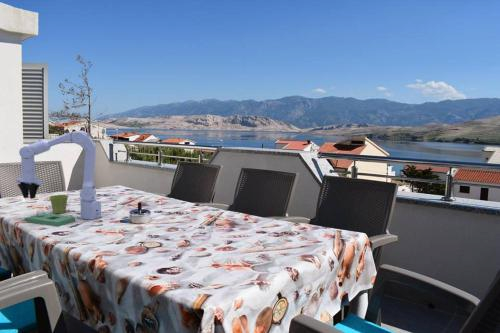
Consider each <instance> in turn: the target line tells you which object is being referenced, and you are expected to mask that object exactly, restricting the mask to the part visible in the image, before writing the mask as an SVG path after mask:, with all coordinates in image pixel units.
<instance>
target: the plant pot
mask: <svg viewBox="0 0 500 333" xmlns="http://www.w3.org/2000/svg"><path fill="white" fill-rule="evenodd" d="M48 198H49V201H50V203H51V204H50V205H51V209H52V214H64V213H65V212H67V204H68V203H67V202H68V199H69V195H68V194H56V195H50V196H48Z"/></svg>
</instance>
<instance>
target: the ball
mask: <svg viewBox="0 0 500 333" xmlns="http://www.w3.org/2000/svg"><path fill="white" fill-rule="evenodd" d="M44 213H45V210H44V209H42V208H39V209H38V210H36V215H38V216H43V215H44Z"/></svg>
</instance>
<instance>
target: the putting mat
mask: <svg viewBox="0 0 500 333" xmlns="http://www.w3.org/2000/svg"><path fill="white" fill-rule="evenodd" d="M25 221H27V222H26V223H29V222H33V223H32V224H36V223H40V224H39V225H44V224H45V225H44V226H52V227H60V226H64V225H67V224H70V223H74V222H76V216H70V215H63V214H62V215H61V214H56V213H44V215H43V216H38V215H37V214H35V215H30V216H27V217H24V222H25Z"/></svg>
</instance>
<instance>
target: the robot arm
mask: <svg viewBox="0 0 500 333" xmlns="http://www.w3.org/2000/svg"><path fill="white" fill-rule="evenodd" d="M65 142H69V143H71V142H72V143H74V144H76V145H79V146H80V147H81V148H82V149H83V150H84V167H83V182H82V185H81V186H82V187H81V190H80V192H79V197H80V215H78V216H76V218H77V219H83V220H84V219H85V220H96V219H99V218H102V217H103V215H102V204H101V202H100V201H99V200H97V199H96V196H95V195H96V193H97V190H96V187H95V168H96V167H95V166H96V154H97V153H96V150H97V147H96V146H97V145H96V144H95V142H94V141H93V139H92V137H91V135H90V134H89V133H88V132H87V131H85V130H75V131H73V132H72V131H71V132H67V133H63V134H61V135H59V136H57V137H54V138H52V139H49V140H47V139H42V138H41V139H38V141H37V142H33V143H28V145H25V146H24V145H23V147H20V149H19V151H18V153H19V154H18V155H19V156H20V157H21V158H20V162H21V164H20V165H21V178H15V183H17V187H18V188H19V189H20V192H21V194H22V196H23V199H27V198H30V199H31V200H32V199H35V198H36V194H37V192H38V190H39V187H40V185H43V183H42V180H40V179H37V178H36V169H35V168H36V167H35V166H36V162H35V156H38V155H40V154H43V153H46V152H49V151H50V150H51V148H52V147H54V146H57V145H60V144H63V143H65Z"/></svg>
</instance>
